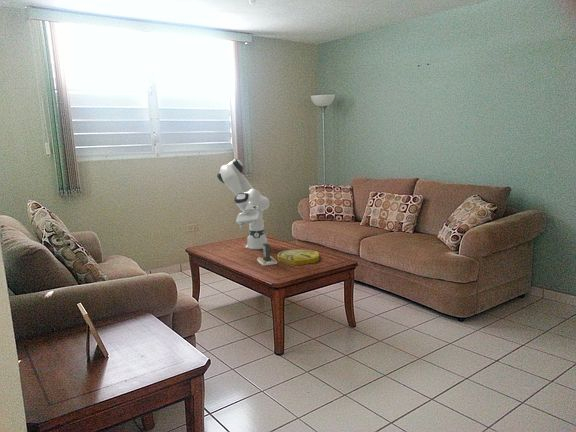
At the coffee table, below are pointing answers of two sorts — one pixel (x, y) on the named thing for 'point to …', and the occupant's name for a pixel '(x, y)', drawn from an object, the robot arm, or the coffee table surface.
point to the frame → (266, 252)
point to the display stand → (261, 261)
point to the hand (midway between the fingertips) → (246, 228)
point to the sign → (298, 256)
